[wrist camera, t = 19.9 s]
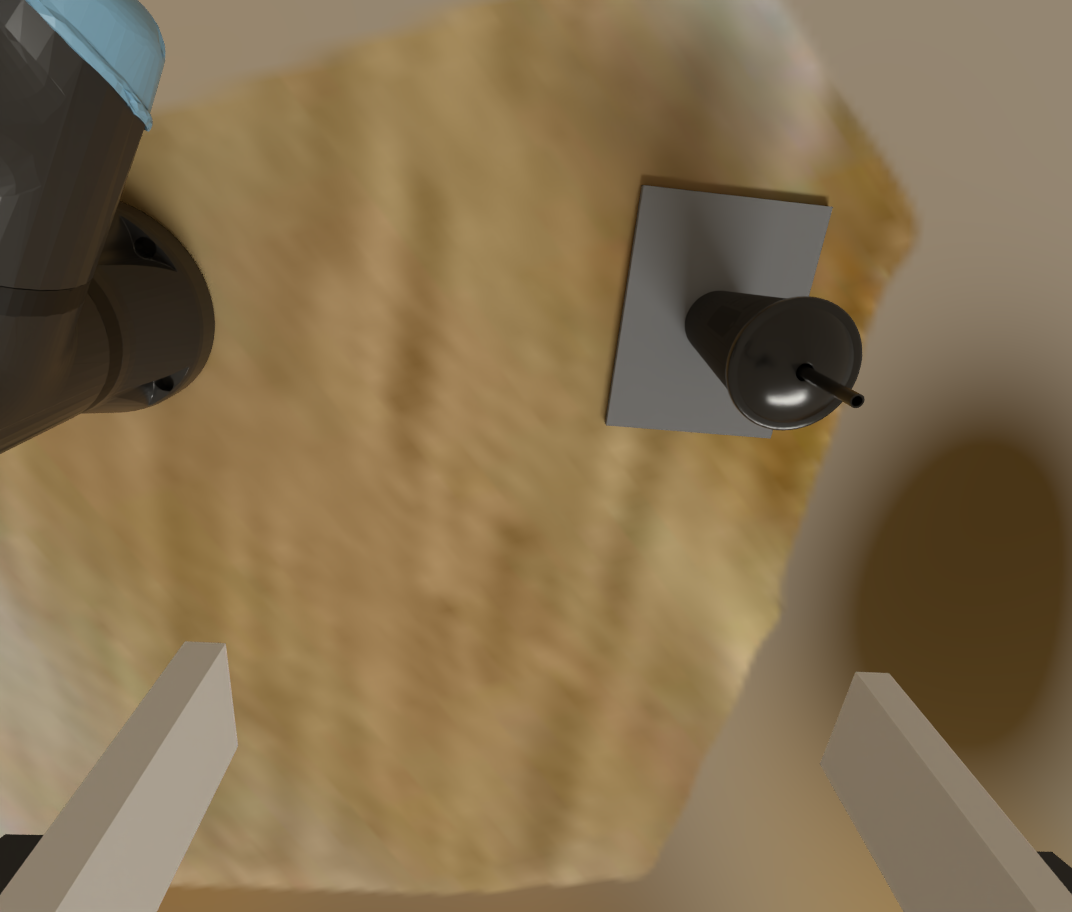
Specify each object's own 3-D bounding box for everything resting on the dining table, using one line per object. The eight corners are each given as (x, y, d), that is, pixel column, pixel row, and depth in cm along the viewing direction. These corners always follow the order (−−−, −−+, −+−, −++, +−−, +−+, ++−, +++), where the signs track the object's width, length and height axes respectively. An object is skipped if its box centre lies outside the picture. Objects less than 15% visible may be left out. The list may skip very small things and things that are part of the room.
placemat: (605, 422, 49) (606, 425, 49) (641, 185, 43) (643, 185, 42) (767, 435, 51) (770, 438, 50) (828, 206, 44) (832, 206, 43)
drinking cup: (670, 379, 48) (776, 488, 29) (662, 281, 45) (774, 334, 26) (765, 362, 47) (932, 461, 29) (763, 263, 45) (948, 303, 26)
